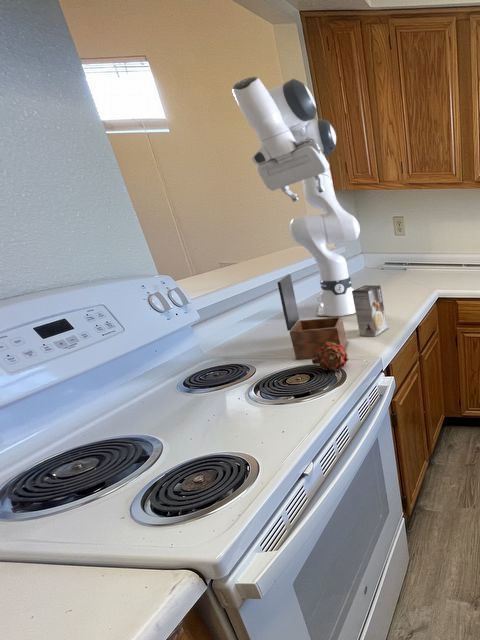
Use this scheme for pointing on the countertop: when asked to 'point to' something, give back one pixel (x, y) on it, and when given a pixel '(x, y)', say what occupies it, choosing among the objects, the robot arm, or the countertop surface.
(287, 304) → the lid
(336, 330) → the chest
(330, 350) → the dragon fruit
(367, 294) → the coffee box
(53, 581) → the countertop surface
